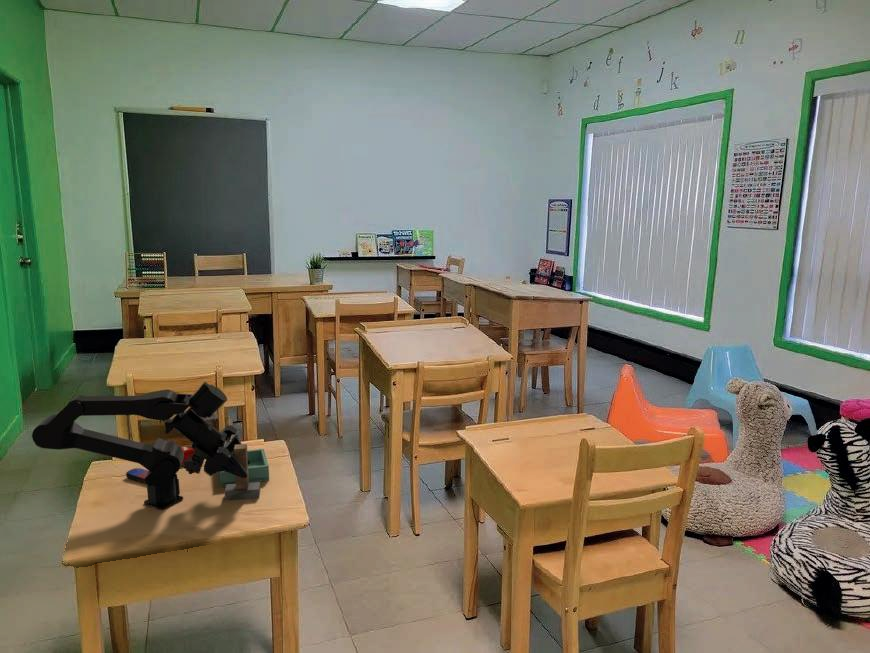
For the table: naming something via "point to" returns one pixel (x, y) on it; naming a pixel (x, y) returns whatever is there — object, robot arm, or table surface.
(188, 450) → the race car
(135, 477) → the eraser
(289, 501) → the table surface
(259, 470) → the box
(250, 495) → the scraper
